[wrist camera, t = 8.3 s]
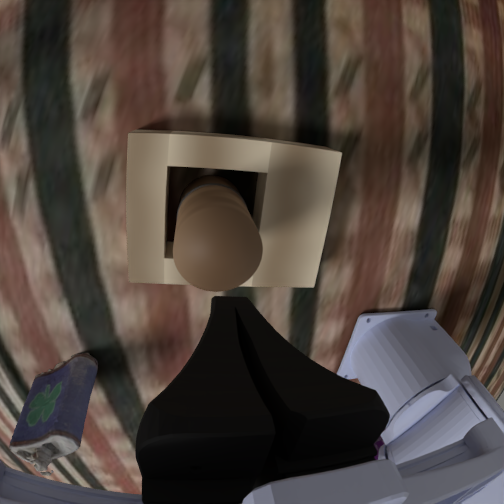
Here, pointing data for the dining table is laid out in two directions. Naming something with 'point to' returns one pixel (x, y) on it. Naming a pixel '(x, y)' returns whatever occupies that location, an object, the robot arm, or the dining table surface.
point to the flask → (55, 412)
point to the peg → (215, 236)
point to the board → (265, 205)
